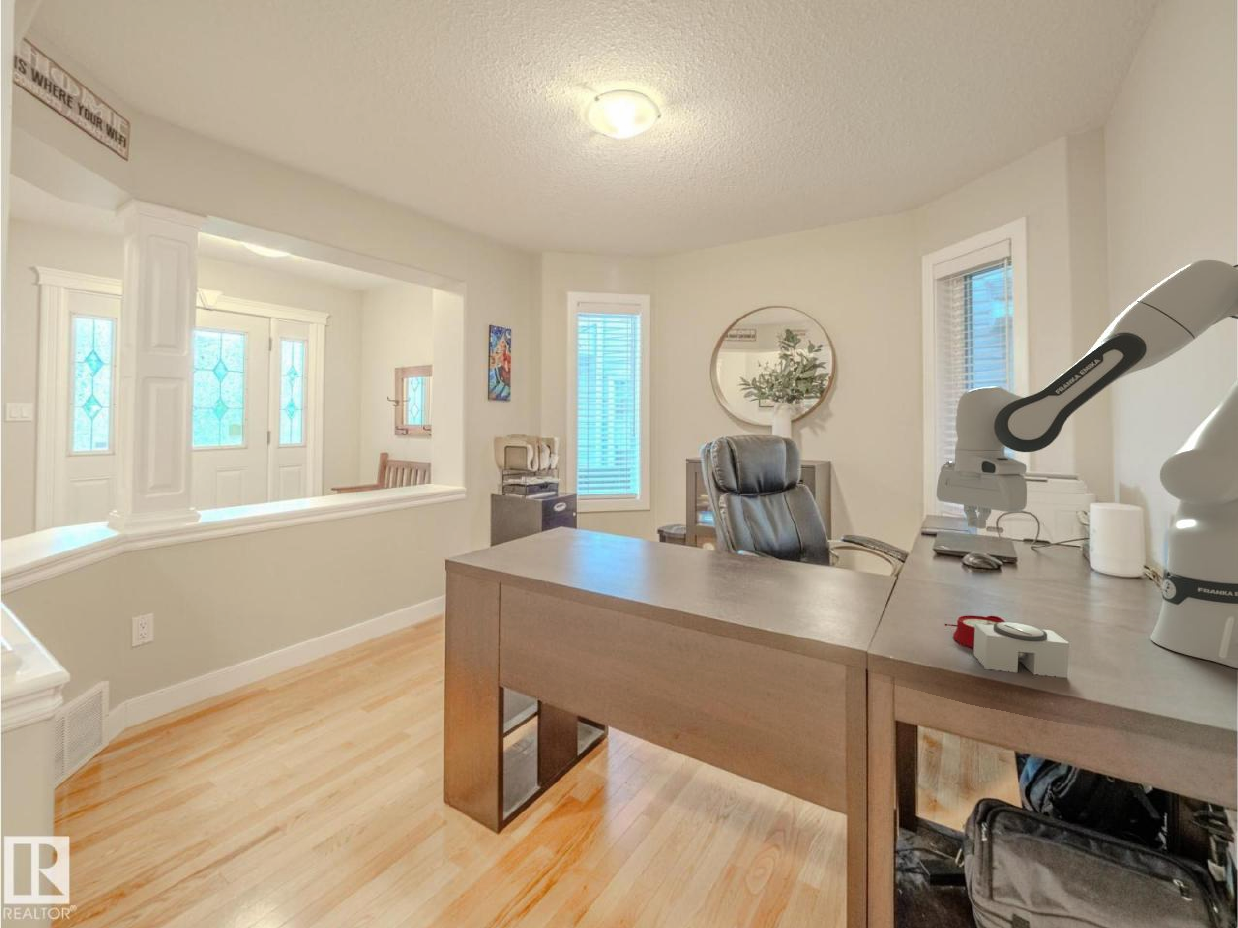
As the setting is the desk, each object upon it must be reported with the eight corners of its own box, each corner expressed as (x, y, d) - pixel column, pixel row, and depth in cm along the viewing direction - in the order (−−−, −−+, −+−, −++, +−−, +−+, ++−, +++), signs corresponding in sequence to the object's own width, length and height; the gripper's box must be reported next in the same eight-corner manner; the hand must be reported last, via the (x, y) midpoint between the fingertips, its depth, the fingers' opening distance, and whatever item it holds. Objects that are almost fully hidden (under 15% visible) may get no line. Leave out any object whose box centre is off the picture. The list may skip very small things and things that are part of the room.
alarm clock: (936, 618, 110) (996, 597, 113) (941, 647, 111) (1000, 625, 114) (981, 637, 100) (1045, 614, 103) (986, 669, 101) (1050, 644, 104)
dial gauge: (1047, 661, 98) (1049, 624, 98) (1069, 679, 91) (1071, 640, 90) (971, 653, 101) (973, 617, 101) (987, 670, 94) (988, 632, 94)
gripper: (930, 461, 126) (928, 520, 127) (1006, 466, 106) (1004, 536, 107) (954, 460, 127) (952, 519, 128) (1034, 465, 107) (1031, 535, 108)
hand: (976, 527), depth 117 cm, fingers closed
